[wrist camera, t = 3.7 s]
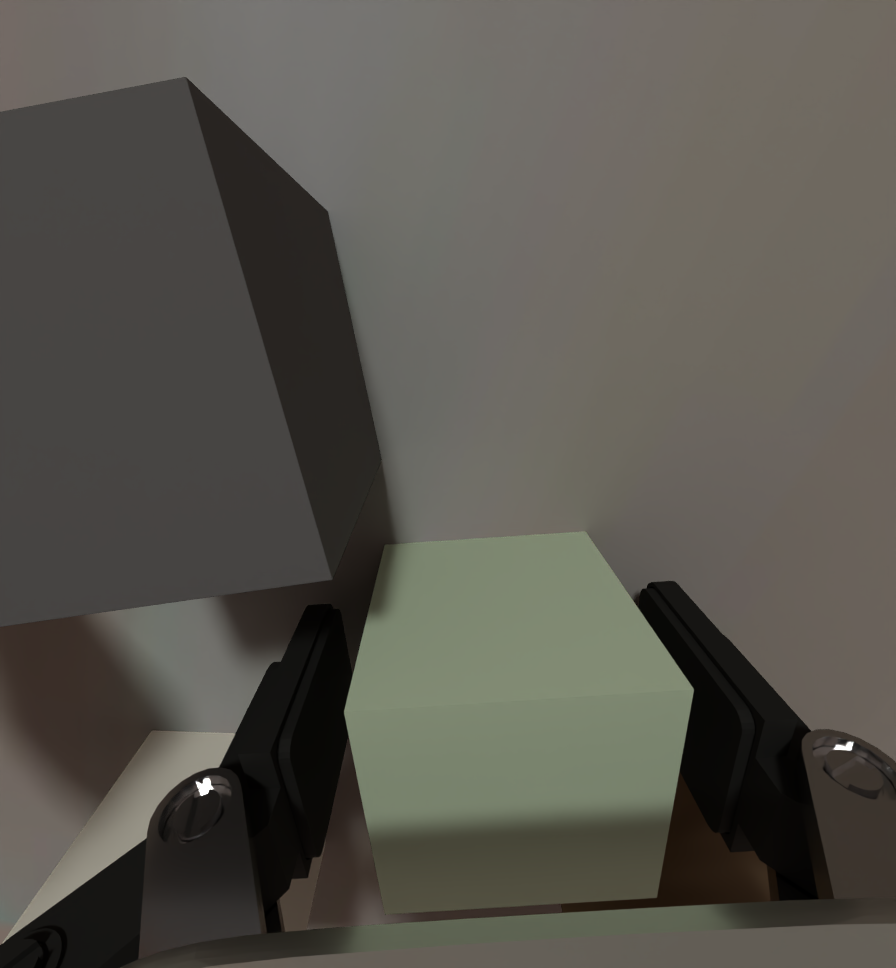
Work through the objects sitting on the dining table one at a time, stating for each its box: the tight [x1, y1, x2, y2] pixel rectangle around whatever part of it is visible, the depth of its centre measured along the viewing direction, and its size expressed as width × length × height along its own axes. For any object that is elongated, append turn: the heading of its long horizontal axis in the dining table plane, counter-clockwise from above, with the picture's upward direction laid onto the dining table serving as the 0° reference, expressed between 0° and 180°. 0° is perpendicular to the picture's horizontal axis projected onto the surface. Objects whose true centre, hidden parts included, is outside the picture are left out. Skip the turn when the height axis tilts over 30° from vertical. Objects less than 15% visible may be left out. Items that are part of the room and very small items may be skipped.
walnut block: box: [561, 771, 771, 913], centre depth 12 cm, size 5×5×5 cm
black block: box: [0, 77, 382, 627], centre depth 7 cm, size 5×5×5 cm
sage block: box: [344, 532, 694, 915], centre depth 9 cm, size 5×5×5 cm
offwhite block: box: [2, 730, 326, 944], centre depth 12 cm, size 5×5×5 cm
